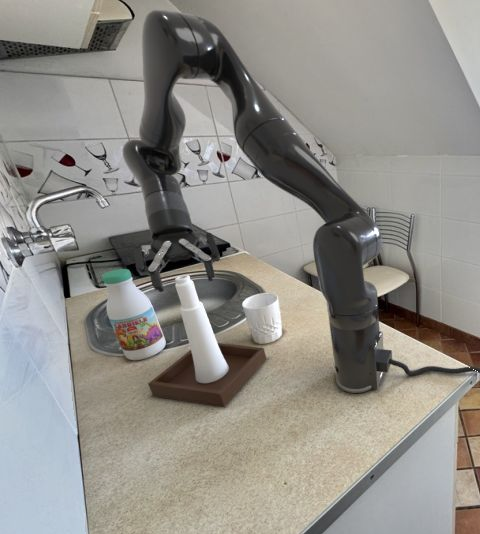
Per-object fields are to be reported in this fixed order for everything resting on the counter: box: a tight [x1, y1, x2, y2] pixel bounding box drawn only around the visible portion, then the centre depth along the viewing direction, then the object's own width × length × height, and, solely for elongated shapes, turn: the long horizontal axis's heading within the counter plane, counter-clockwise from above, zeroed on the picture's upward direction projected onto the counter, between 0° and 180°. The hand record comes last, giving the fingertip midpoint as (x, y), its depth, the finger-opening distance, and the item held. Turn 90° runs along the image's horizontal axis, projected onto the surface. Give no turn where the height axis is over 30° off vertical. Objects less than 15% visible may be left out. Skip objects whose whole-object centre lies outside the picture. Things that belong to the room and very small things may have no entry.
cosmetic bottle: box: [174, 274, 229, 383], centre depth 62 cm, size 6×6×22 cm
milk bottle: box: [101, 268, 167, 361], centre depth 71 cm, size 8×8×20 cm
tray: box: [147, 342, 267, 408], centre depth 66 cm, size 16×14×3 cm
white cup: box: [241, 292, 283, 345], centre depth 78 cm, size 8×8×10 cm
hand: (186, 284), depth 65 cm, fingers open, 8 cm apart
